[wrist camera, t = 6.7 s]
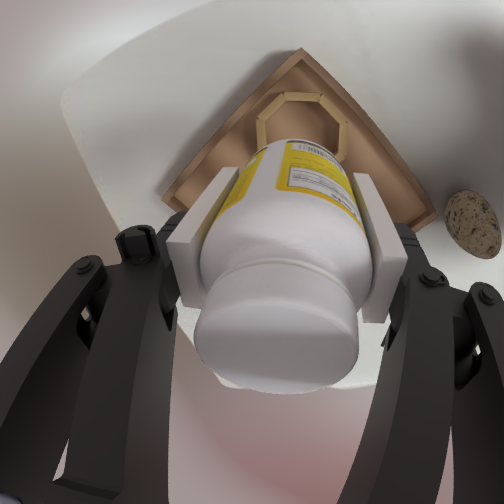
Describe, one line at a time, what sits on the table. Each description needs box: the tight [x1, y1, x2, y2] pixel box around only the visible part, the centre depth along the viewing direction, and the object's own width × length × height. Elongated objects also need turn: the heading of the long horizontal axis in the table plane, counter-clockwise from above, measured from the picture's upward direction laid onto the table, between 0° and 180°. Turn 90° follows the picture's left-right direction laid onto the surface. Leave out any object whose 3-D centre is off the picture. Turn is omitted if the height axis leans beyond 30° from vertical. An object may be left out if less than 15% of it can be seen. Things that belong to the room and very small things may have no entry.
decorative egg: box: [444, 190, 502, 259], centre depth 23 cm, size 6×6×10 cm
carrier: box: [161, 48, 439, 233], centre depth 29 cm, size 22×22×5 cm
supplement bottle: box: [194, 139, 373, 394], centre depth 10 cm, size 5×5×10 cm
